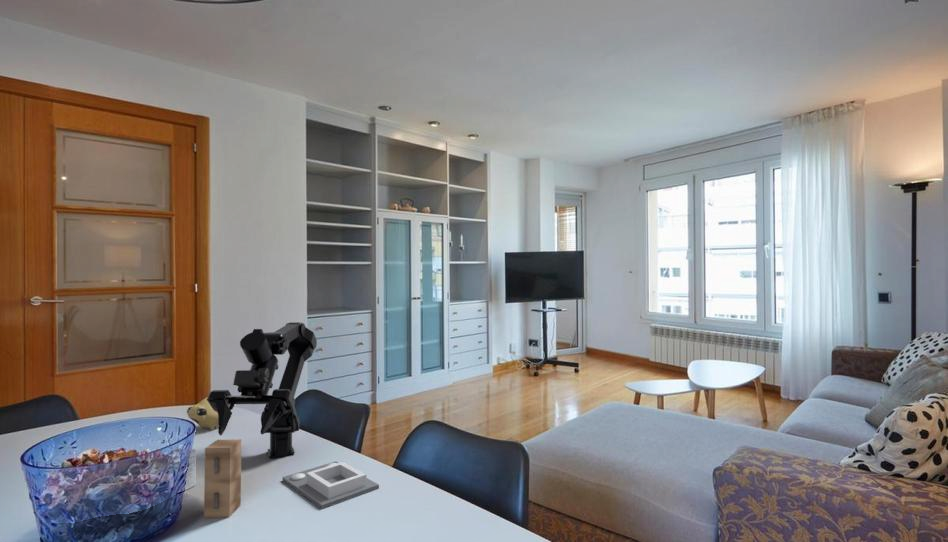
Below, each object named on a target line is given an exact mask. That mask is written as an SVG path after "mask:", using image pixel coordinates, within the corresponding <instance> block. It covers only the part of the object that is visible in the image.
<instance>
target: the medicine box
mask: <svg viewBox="0 0 948 542" xmlns="http://www.w3.org/2000/svg"><path fill="white" fill-rule="evenodd" d="M190 449H191V454H190V461H189V467H188V472H187V482H186V489H185V491H184V492H186V491H188V490H190V489H191V488H194V487H195V486H196V485H197V477H196V476H197V475H196V474H197V473H196V472H197V468H196V467H197V463H196V461H197V459H196V458H197V452H196V451H197V450H196V449H195V448H190Z"/></svg>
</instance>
